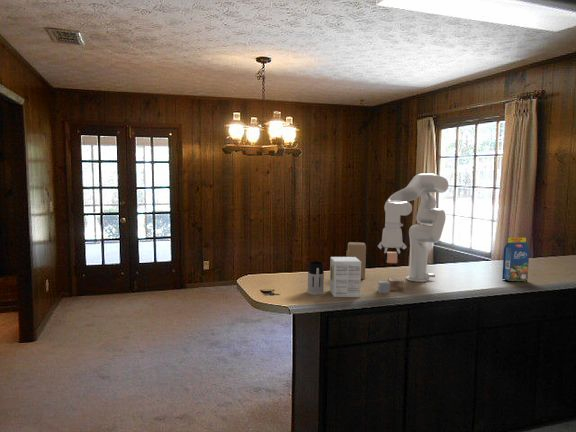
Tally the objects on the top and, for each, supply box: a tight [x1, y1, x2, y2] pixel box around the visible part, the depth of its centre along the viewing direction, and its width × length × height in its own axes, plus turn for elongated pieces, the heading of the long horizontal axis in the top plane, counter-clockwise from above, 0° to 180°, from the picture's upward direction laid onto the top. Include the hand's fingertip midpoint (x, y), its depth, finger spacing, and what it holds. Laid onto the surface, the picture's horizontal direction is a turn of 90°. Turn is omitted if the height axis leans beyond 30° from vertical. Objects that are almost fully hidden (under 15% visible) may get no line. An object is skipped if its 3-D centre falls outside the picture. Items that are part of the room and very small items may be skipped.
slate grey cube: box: [377, 280, 391, 294], centre depth 227 cm, size 5×5×5 cm
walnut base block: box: [387, 277, 404, 291], centre depth 234 cm, size 7×7×5 cm
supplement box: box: [329, 256, 362, 298], centre depth 221 cm, size 13×13×18 cm
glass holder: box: [306, 260, 325, 296], centre depth 220 cm, size 9×14×15 cm, turn 2°
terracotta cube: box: [385, 251, 398, 264], centre depth 233 cm, size 5×5×5 cm
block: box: [346, 241, 367, 280], centre depth 259 cm, size 10×10×20 cm
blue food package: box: [501, 237, 530, 282], centre depth 257 cm, size 6×12×25 cm, turn 104°
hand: (391, 260), depth 234 cm, fingers closed on terracotta cube, 5 cm apart
